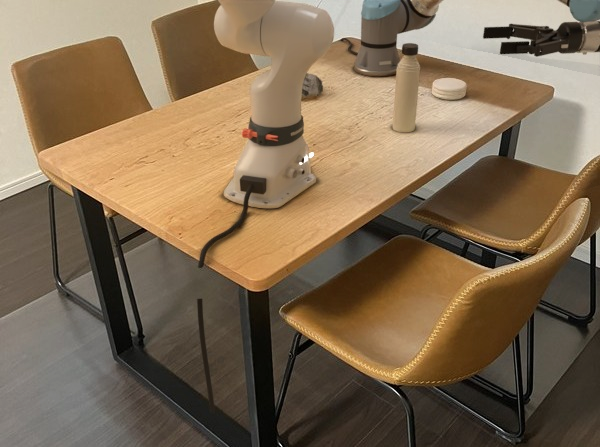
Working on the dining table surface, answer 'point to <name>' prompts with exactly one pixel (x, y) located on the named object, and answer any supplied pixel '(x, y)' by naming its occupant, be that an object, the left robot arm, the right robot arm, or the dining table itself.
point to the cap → (410, 49)
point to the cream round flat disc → (449, 88)
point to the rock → (311, 86)
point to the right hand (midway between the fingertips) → (492, 40)
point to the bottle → (406, 94)
